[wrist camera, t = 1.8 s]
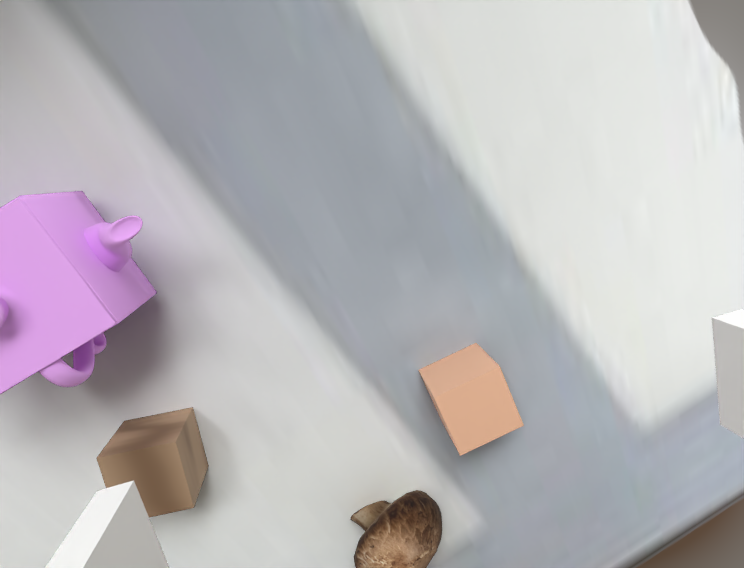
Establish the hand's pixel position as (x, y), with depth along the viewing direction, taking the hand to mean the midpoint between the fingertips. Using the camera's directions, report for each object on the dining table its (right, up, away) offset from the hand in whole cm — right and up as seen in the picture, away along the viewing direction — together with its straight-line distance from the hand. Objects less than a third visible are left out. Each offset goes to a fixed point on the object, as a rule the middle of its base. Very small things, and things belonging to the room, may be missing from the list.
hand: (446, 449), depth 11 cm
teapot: (-23, +5, +23) cm, 32 cm away
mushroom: (0, -15, +30) cm, 34 cm away
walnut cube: (-17, -8, +26) cm, 33 cm away
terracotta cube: (+5, -4, +28) cm, 29 cm away
